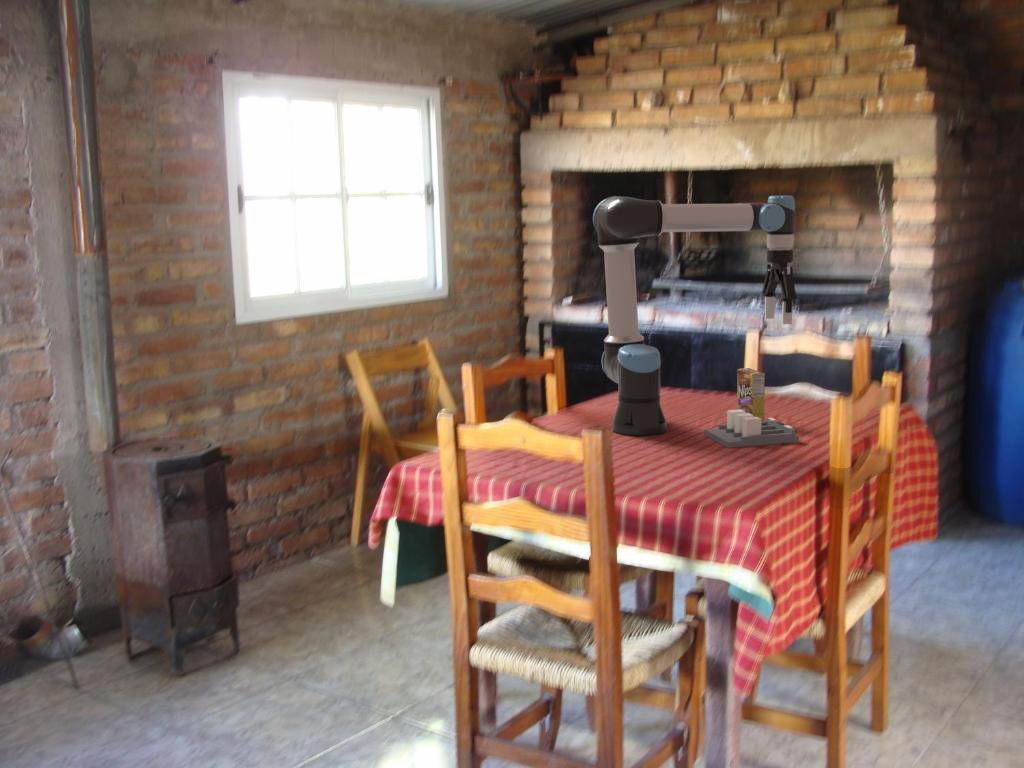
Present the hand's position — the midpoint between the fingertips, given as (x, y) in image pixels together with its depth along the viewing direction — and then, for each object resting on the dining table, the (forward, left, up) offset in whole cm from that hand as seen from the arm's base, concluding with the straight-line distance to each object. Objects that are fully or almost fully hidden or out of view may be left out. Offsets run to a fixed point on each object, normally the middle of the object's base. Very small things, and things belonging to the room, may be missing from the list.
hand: (778, 321), depth 325 cm
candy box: (-14, -13, -27) cm, 33 cm away
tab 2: (-24, -31, -25) cm, 47 cm away
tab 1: (-24, -26, -25) cm, 43 cm away
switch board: (-22, -31, -27) cm, 47 cm away
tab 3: (-24, -36, -25) cm, 50 cm away
